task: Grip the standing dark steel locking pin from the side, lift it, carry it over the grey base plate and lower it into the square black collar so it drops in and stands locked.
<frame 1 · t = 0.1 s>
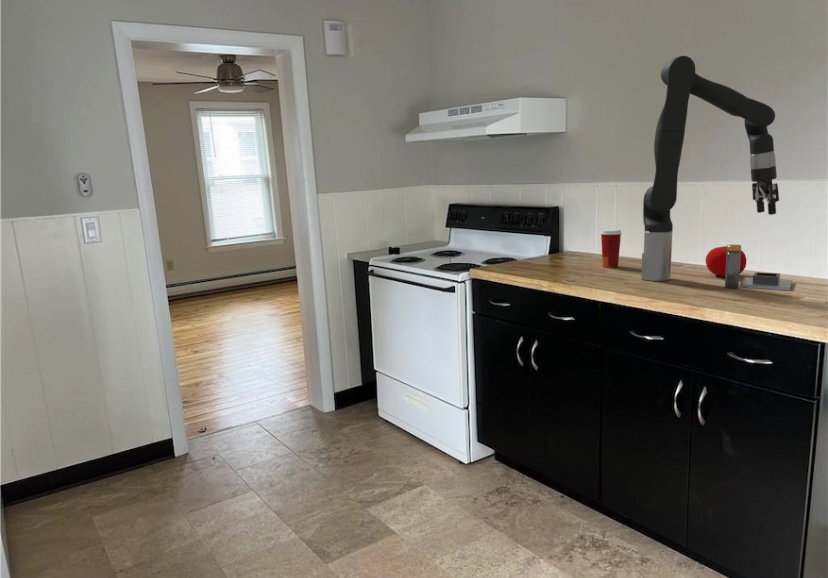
hand: (766, 213, 210), 22 cm above the table, tool pointing down, fingers open, 8 cm apart
coffee cup: (610, 267, 248), on the table
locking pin: (731, 287, 198), on the table
tomato: (724, 276, 219), on the table
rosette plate: (765, 285, 201), on the table
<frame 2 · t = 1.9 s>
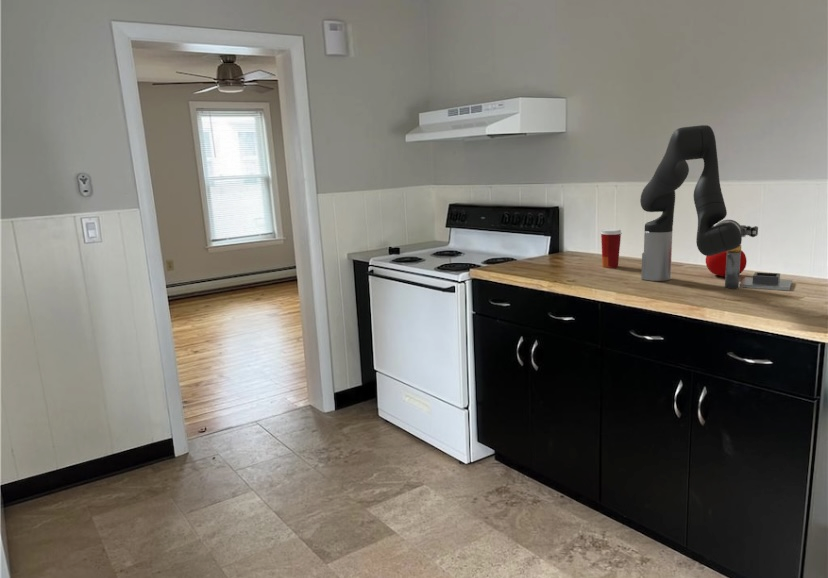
hand: (732, 229, 186), 20 cm above the table, tool horizontal, fingers open, 8 cm apart
nothing on the table moved.
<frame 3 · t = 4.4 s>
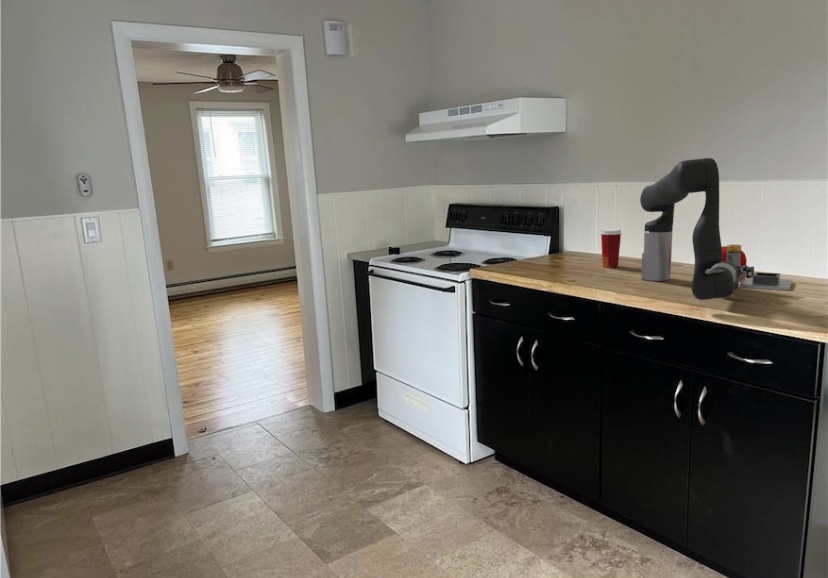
hand: (730, 267, 193), 8 cm above the table, tool horizontal, fingers open, 8 cm apart
nothing on the table moved.
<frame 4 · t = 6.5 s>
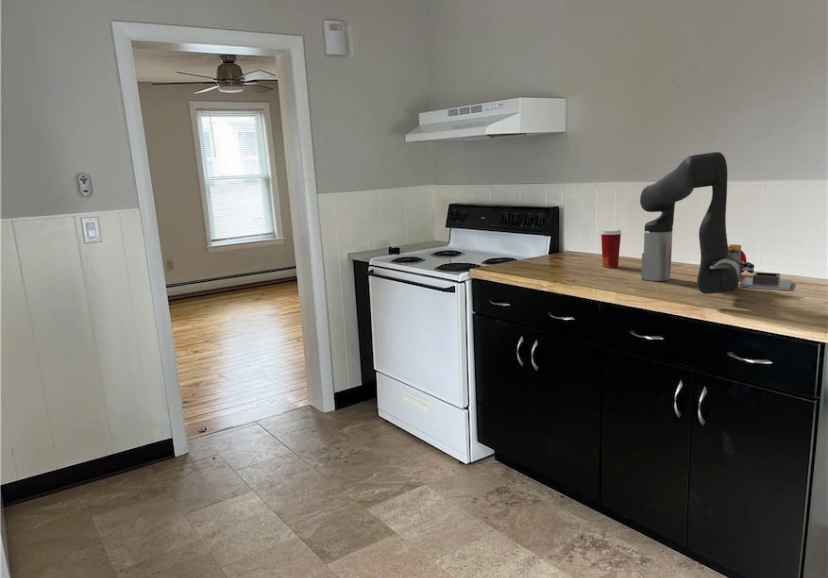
hand: (734, 263, 199), 8 cm above the table, tool horizontal, fingers closed on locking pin, 4 cm apart
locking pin: (731, 287, 198), on the table, touching gripper
everything else where it was.
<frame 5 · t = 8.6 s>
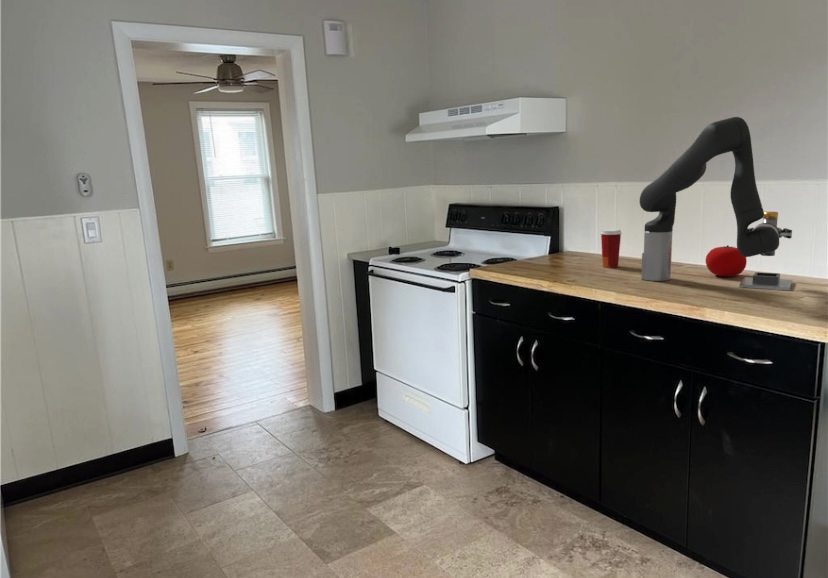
hand: (770, 230, 199), 18 cm above the table, tool horizontal, fingers closed on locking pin, 4 cm apart
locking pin: (767, 255, 198), point 10 cm above the table, touching gripper
everything else where it was.
when the fingers open (10 cm above the table, at t = 10.9 s): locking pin drops 1 cm, resting on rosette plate.
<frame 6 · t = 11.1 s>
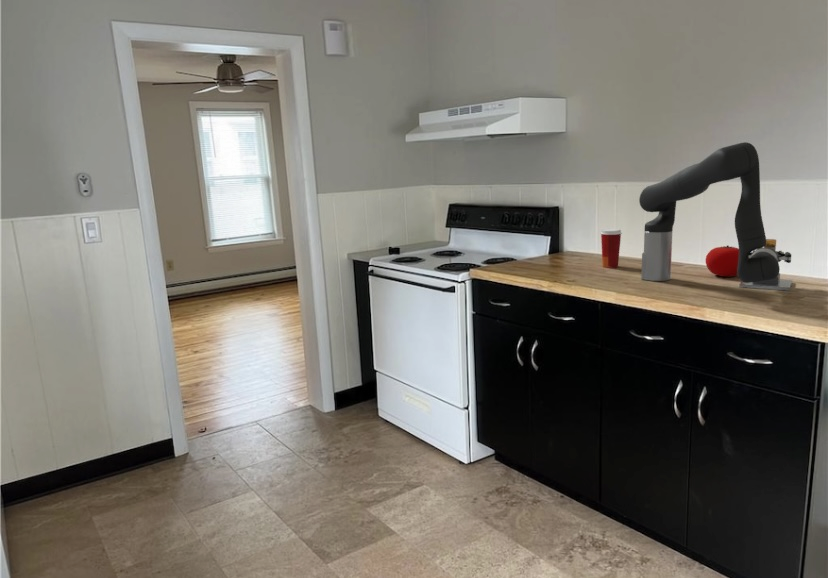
hand: (768, 253, 201), 10 cm above the table, tool horizontal, fingers open, 6 cm apart
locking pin: (766, 282, 200), point 1 cm above the table, touching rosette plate
everything else where it was.
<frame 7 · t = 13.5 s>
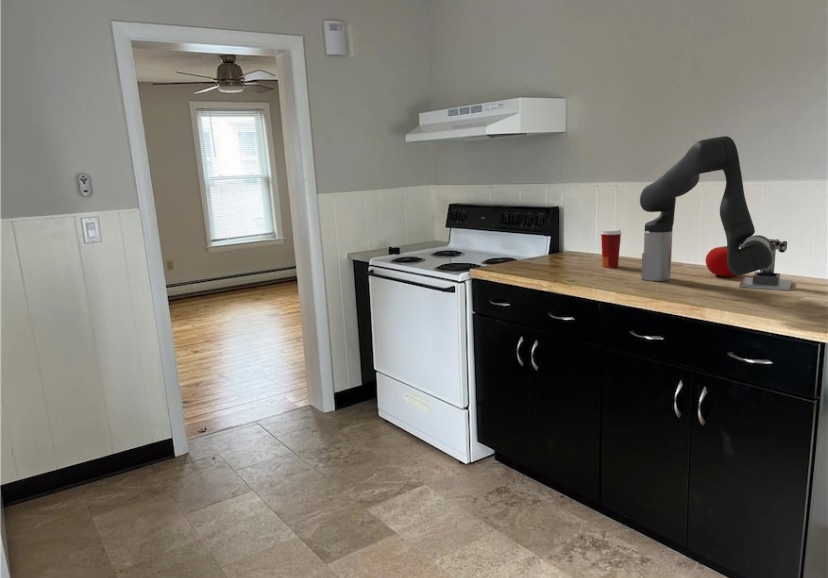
hand: (761, 242, 189), 16 cm above the table, tool horizontal, fingers open, 8 cm apart
nothing on the table moved.
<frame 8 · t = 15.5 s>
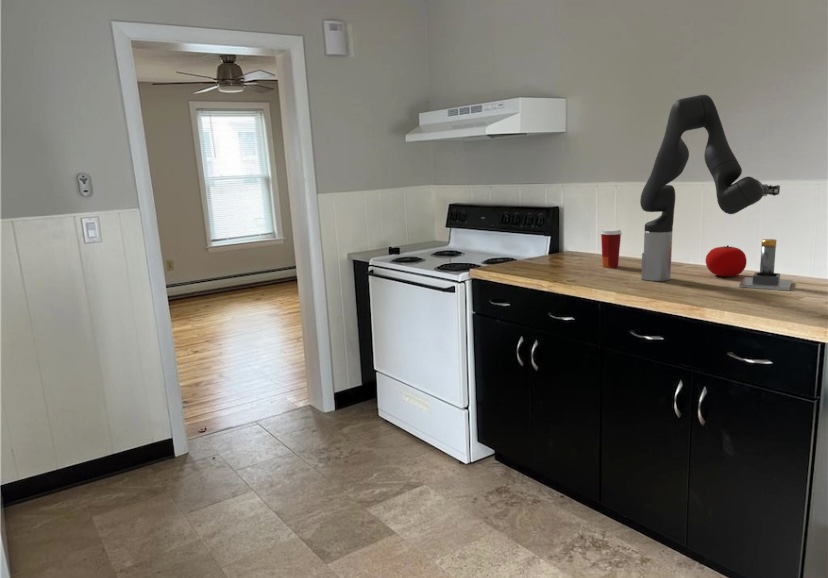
hand: (753, 189, 185), 32 cm above the table, tool horizontal, fingers open, 8 cm apart
nothing on the table moved.
at the end: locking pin 0.1 cm off-centre on the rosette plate, point 1.0 cm above the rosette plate's base; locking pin tilted 0°; the gripper is holding nothing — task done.
